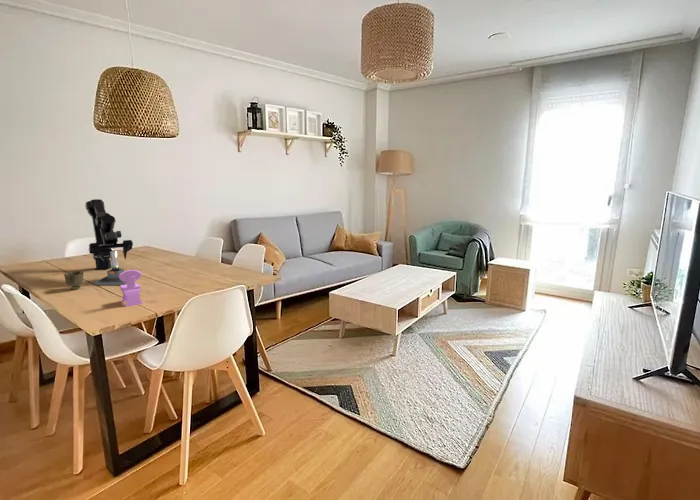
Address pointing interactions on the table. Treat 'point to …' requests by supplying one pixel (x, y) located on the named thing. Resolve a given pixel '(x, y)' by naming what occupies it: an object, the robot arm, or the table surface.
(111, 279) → the stand
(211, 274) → the table surface
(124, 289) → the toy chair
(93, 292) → the table surface
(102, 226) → the robot arm
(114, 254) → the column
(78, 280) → the cup
